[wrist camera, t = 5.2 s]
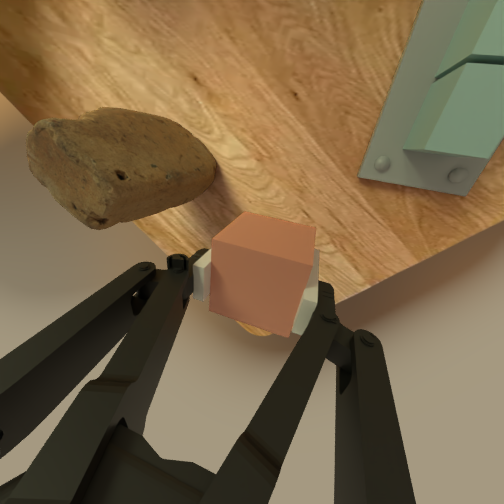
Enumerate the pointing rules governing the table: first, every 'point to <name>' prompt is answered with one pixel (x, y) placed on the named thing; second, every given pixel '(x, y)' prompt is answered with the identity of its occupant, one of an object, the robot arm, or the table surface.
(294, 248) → the brick block
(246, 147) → the table surface
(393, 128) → the build plate
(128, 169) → the rough sandstone chunk
